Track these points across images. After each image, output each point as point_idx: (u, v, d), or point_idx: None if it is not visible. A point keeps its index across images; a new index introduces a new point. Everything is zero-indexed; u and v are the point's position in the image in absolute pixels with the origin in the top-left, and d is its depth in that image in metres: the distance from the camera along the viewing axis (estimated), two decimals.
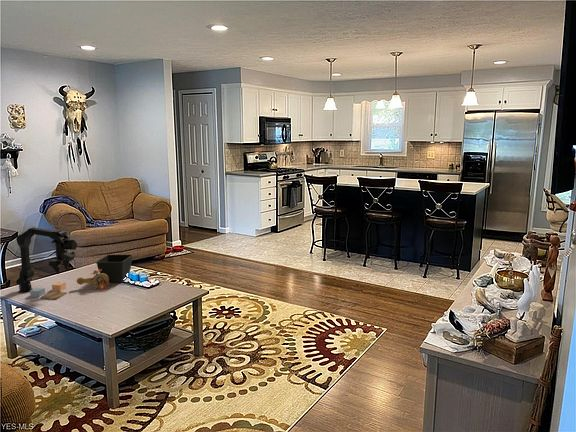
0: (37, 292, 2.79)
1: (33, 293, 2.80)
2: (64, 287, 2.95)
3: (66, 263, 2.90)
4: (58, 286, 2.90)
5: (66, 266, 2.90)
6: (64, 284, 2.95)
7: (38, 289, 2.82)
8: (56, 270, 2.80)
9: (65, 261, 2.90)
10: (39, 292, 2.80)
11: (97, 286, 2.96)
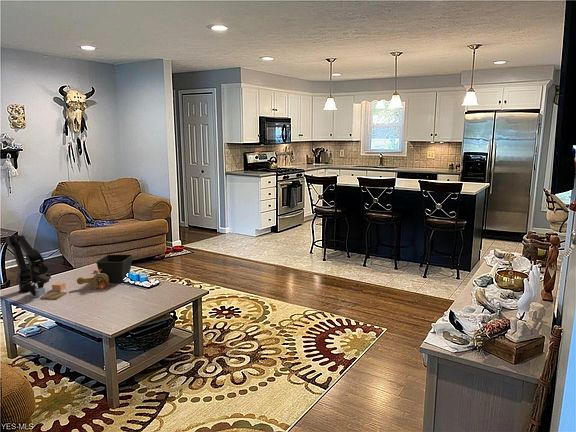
0: (37, 291, 2.79)
1: None
2: (64, 287, 2.95)
3: (40, 286, 2.85)
4: (58, 286, 2.90)
5: None
6: (64, 284, 2.95)
7: (38, 289, 2.82)
8: (32, 292, 2.78)
9: (39, 284, 2.85)
10: (39, 292, 2.80)
11: (97, 286, 2.96)
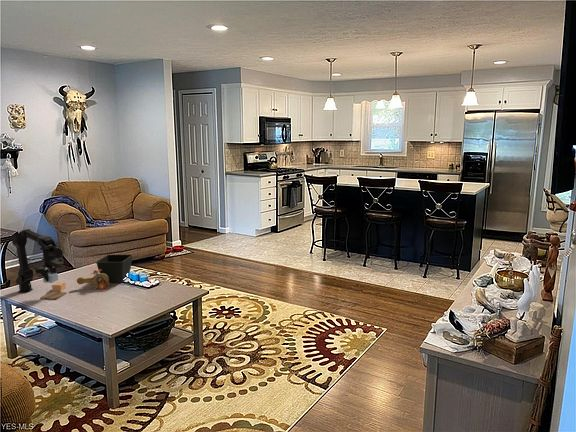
0: (50, 277, 2.76)
1: None
2: (64, 287, 2.95)
3: (53, 271, 2.82)
4: (58, 286, 2.90)
5: None
6: (64, 284, 2.95)
7: (51, 274, 2.79)
8: (45, 277, 2.75)
9: (52, 269, 2.82)
10: (52, 277, 2.77)
11: (97, 286, 2.96)
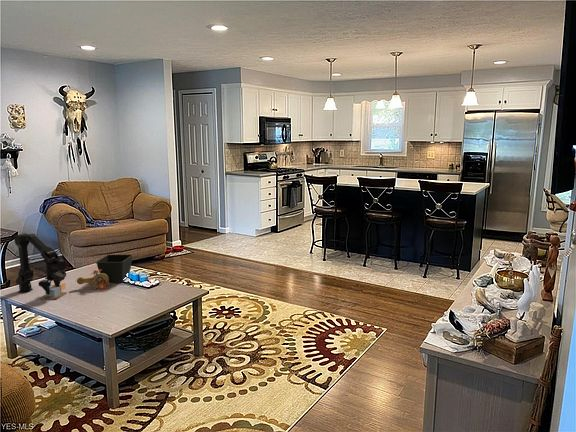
0: (53, 290, 2.78)
1: None
2: (64, 287, 2.95)
3: (57, 283, 2.85)
4: (59, 286, 2.91)
5: (57, 286, 2.85)
6: (64, 284, 2.95)
7: (54, 288, 2.81)
8: (46, 290, 2.75)
9: (56, 281, 2.85)
10: (54, 291, 2.78)
11: (97, 286, 2.96)
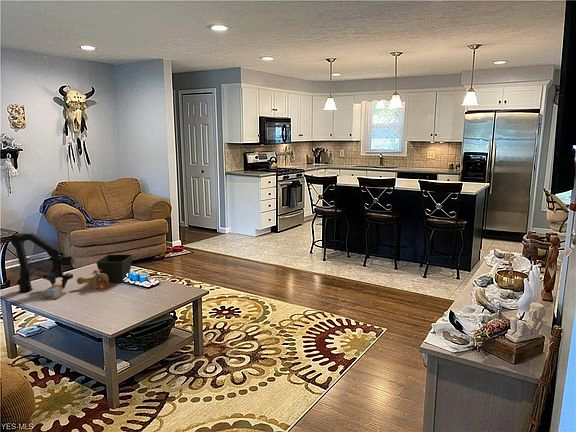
0: (53, 290, 2.78)
1: (49, 292, 2.78)
2: None
3: None
4: (59, 286, 2.91)
5: None
6: None
7: (54, 288, 2.81)
8: None
9: None
10: (54, 291, 2.78)
11: (97, 286, 2.96)
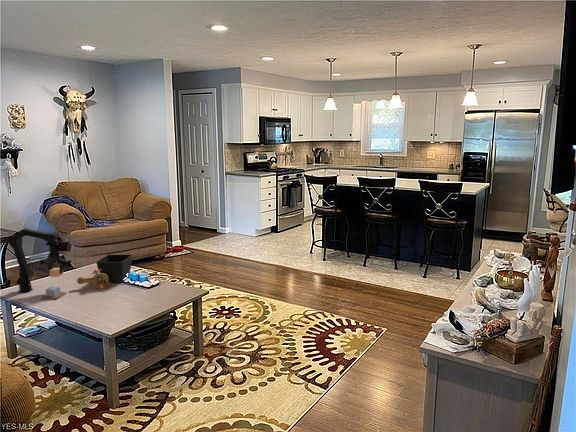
0: (53, 290, 2.78)
1: (49, 292, 2.78)
2: None
3: None
4: (56, 271, 2.86)
5: None
6: None
7: (54, 288, 2.81)
8: None
9: None
10: (54, 291, 2.78)
11: (97, 286, 2.96)
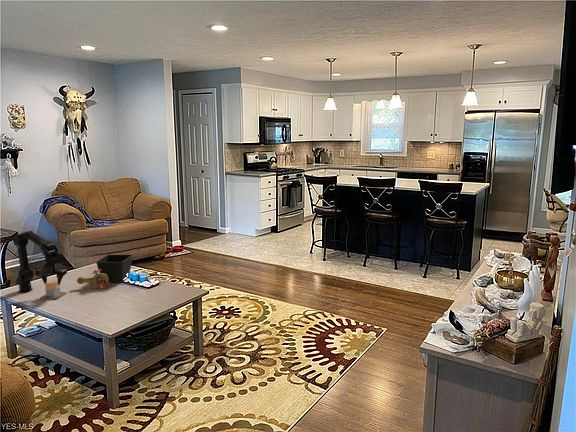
0: (53, 290, 2.78)
1: (49, 292, 2.78)
2: (58, 285, 2.82)
3: None
4: (52, 284, 2.77)
5: None
6: None
7: None
8: None
9: None
10: (54, 291, 2.78)
11: (97, 286, 2.96)
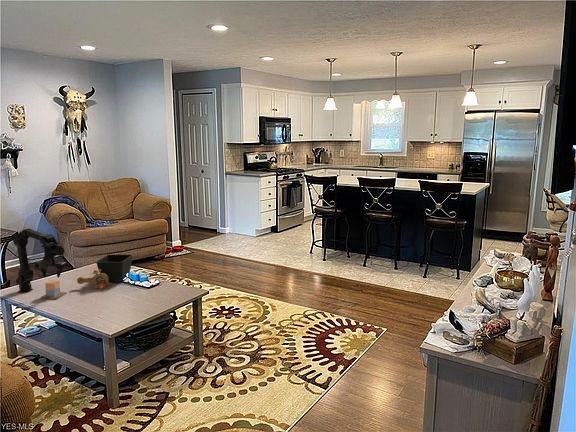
0: (53, 290, 2.78)
1: (49, 292, 2.78)
2: (58, 285, 2.82)
3: None
4: (52, 284, 2.77)
5: None
6: (58, 282, 2.82)
7: None
8: None
9: None
10: (54, 291, 2.78)
11: (97, 286, 2.96)
